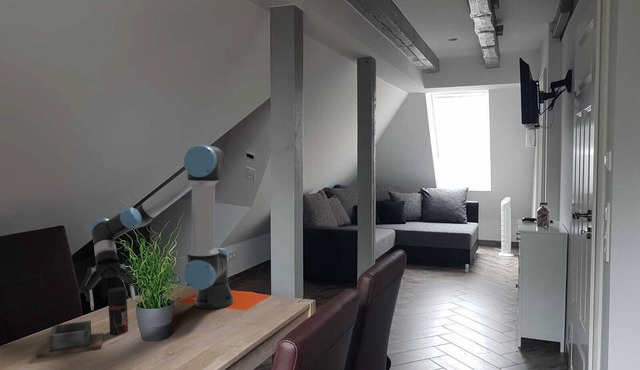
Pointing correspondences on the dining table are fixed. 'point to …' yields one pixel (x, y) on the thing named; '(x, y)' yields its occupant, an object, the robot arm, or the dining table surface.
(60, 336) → the holder
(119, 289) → the deodorant
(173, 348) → the dining table surface
